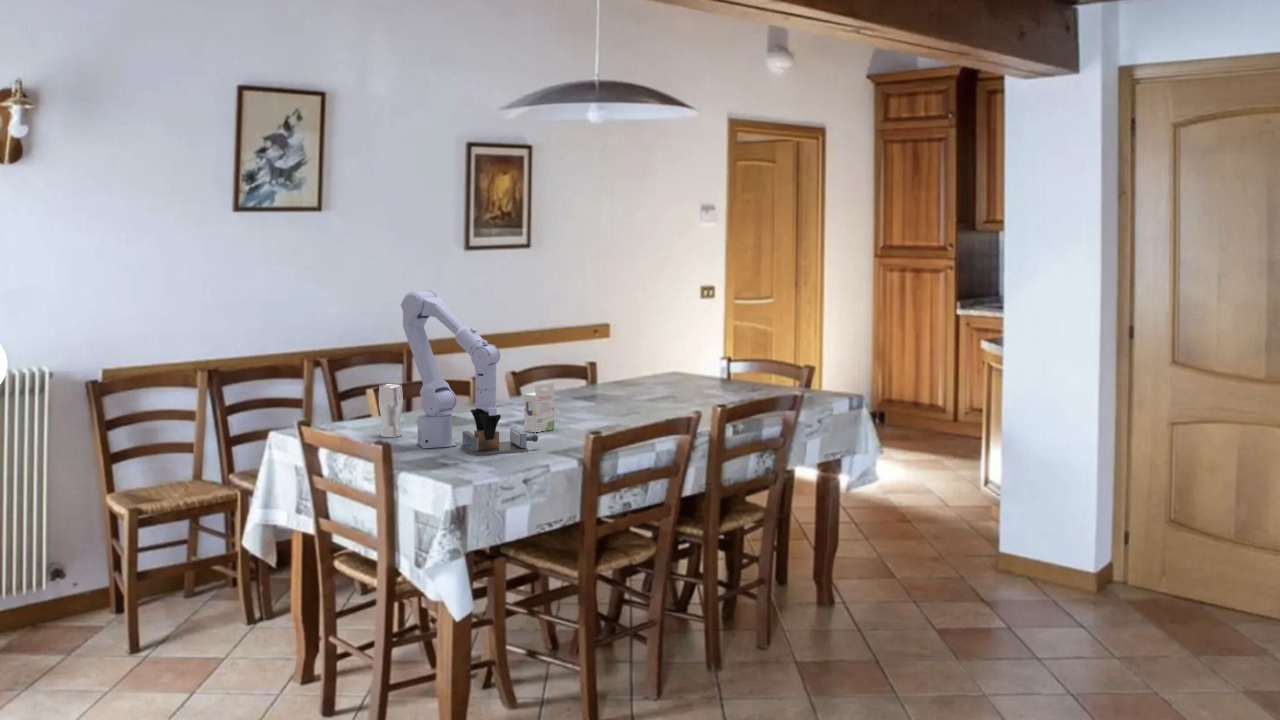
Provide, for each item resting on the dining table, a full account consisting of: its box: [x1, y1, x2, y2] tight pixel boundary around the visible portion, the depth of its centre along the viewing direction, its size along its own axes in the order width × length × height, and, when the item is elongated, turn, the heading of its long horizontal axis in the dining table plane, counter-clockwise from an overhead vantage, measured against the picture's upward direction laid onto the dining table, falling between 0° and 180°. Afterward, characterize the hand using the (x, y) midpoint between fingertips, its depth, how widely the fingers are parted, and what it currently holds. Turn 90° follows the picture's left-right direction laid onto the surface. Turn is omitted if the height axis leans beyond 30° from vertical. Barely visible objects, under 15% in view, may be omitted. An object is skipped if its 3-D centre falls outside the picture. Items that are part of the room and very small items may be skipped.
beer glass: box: [378, 383, 404, 438], centre depth 336 cm, size 7×7×15 cm
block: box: [473, 429, 500, 449], centre depth 318 cm, size 6×4×4 cm, turn 114°
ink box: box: [523, 382, 555, 434], centre depth 348 cm, size 9×5×15 cm, turn 141°
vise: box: [460, 430, 529, 456], centre depth 319 cm, size 16×12×5 cm
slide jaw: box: [509, 426, 539, 448], centre depth 323 cm, size 6×10×4 cm, turn 24°
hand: (485, 436), depth 318 cm, fingers open, 7 cm apart
